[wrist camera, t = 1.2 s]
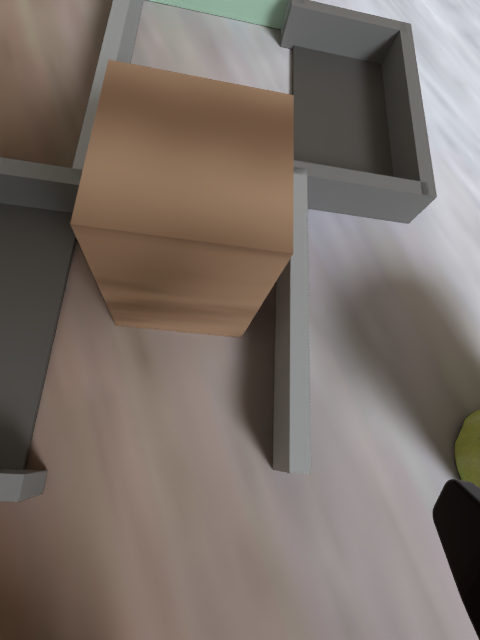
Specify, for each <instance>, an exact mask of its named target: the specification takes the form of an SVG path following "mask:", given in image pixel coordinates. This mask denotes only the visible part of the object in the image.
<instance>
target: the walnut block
mask: <svg viewBox="0 0 480 640" xmlns="http://www.w3.org/2000/svg"><path fill="white" fill-rule="evenodd" d="M293 180H294V95H289V94H284V93H279V92H274V91H269V90H264V89H259V88H253V87H248V86H243V85H238V84H233V83H228V82H222V81H217V80H212V79H207V78H202V77H197V76H191V75H186V74H181V73H176V72H171V71H166V70H160V69H155V68H150V67H145V66H140V65H135V64H130V63H124V62H119V61H114V60H109V59H108V63H107V68H106V72H105V76H104V81H103V85H102V89H101V94H100V98H99V102H98V106H97V111H96V115H95V119H94V124H93V128H92V132H91V137H90V141H89V145H88V149H87V154H86V158H85V162H84V167H83V171H82V175H81V180H80V184H79V188H78V193H77V197H76V201H75V205H74V210H73V214H72V218H71V223H70V225H71V227H72V229H73V231H74V234H75V236H76V238H77V240H78V243H79V245H80V247H81V249H82V251H83V254H84V256H85V258H86V260H87V262H88V265H89V267H90V269H91V271H92V273H93V276H94V278H95V280H96V282H97V285H98V287H99V289H100V291H101V293H102V296H103V298H104V300H105V302H106V304H107V307H108V309H109V311H110V313H111V315H112V318H113V320H114V322H115V324H116V326H126V327H137V328H147V329H157V330H168V331H178V332H188V333H199V334H209V335H219V336H230V337H240V338H241V337H242V336H243V334H244V332H245V331H246V329H247V328H248V326H249V324H250V323H251V321H252V319H253V318H254V316H255V315H256V313H257V311H258V310H259V308H260V307H261V305H262V303H263V302H264V300H265V298H266V297H267V295H268V294H269V292H270V290H271V289H272V287H273V286H274V284H275V282H276V281H277V279H278V277H279V276H280V274H281V273H282V271H283V269H284V268H285V266H286V265H287V263H288V261H289V260H290V258H291V256H292V255H293Z"/></svg>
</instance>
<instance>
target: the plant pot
mask: <svg viewBox="0 0 480 640" xmlns="http://www.w3.org/2000/svg"><path fill="white" fill-rule="evenodd" d="M455 460H456V465H457V469H458V472H459V475H460V477H461V479H462V480H463V481H469V482H471V483H473V484H475V485H476V486H478V487H479V488H480V410H477V411H475V412H473V413H472V414H470V415H469V416H468V417H467V418H466V419H465V420H464V424H463V427H462V429H461V431H460V434H459V436H458V438H457V440H456V442H455Z"/></svg>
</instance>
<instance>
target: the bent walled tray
mask: <svg viewBox="0 0 480 640" xmlns="http://www.w3.org/2000/svg"><path fill="white" fill-rule="evenodd" d="M149 1H154V2H158V3H163V4H167V5H172V6H177V7H181V8H186V9H190V10H195V11H199V12H204V13H209V14H213V15H218V16H222V17H227V18H231V19H236V20H240V21H245V22H250V23H254V24H259V25H263V26H268V27H272V28H277V29H281V47H285V48H290V49H293V95H294V180H293V255H292V256H291V258H290V260H289V261H288V263H287V265H286V266H285V268H284V269H283V271H282V273H281V274H280V276H279V277H278V279H277V281H276V322H275V376H274V429H273V470H277V471H282V472H287V473H302V474H311V439H310V360H309V282H308V209H315V210H321V211H328V212H335V213H341V214H348V215H355V216H361V217H368V218H375V219H381V220H388V221H395V222H401V223H408V224H409V223H410V222H411V221H412V220H413V219H414V218H415V217H416V216H417V215H418V214H419V213H420V212H421V211H423V210H424V209H425V208H426V207H427V206H428V205H429V204H430V203H431V202H432V201H433V200H434V199H435V198H436V197H437V195H436V189H435V182H434V175H433V169H432V162H431V155H430V149H429V142H428V135H427V129H426V122H425V115H424V109H423V102H422V95H421V89H420V82H419V75H418V69H417V62H416V55H415V49H414V42H413V35H412V29H411V24H409V23H405V22H400V21H396V20H392V19H387V18H383V17H379V16H375V15H370V14H366V13H362V12H357V11H353V10H349V9H345V8H340V7H336V6H332V5H327V4H323V3H319V2H315V1H310V0H149ZM142 4H143V0H113V3H112V7H111V11H110V15H109V19H108V23H107V27H106V31H105V36H104V40H103V44H102V48H101V52H100V56H99V60H98V64H97V68H96V72H95V76H94V81H93V85H92V89H91V93H90V97H89V101H88V105H87V109H86V113H85V117H84V121H83V125H82V130H81V134H80V138H79V142H78V146H77V150H76V154H75V158H74V162H73V166H72V168H68V167H62V166H55V165H49V164H42V163H35V162H29V161H22V160H16V159H9V158H3V157H0V501H5V502H19V501H22V500H25V499H28V498H31V497H34V496H37V495H40V494H43V490H44V485H45V480H46V475H47V470H25V467H26V463H27V458H28V454H29V449H30V445H31V440H32V436H33V431H34V427H35V422H36V418H37V413H38V409H39V404H40V400H41V395H42V391H43V386H44V382H45V377H46V373H47V368H48V364H49V359H50V355H51V350H52V346H53V341H54V337H55V332H56V328H57V323H58V319H59V314H60V310H61V305H62V301H63V296H64V292H65V287H66V283H67V278H68V274H69V269H70V265H71V260H72V256H73V252H74V247H75V243H76V236H75V234H74V231H73V229H72V227H71V225H70V223H71V218H72V214H73V210H74V205H75V201H76V197H77V193H78V188H79V184H80V180H81V175H82V171H83V167H84V162H85V158H86V154H87V149H88V145H89V141H90V137H91V132H92V128H93V124H94V119H95V115H96V111H97V106H98V102H99V98H100V94H101V89H102V85H103V81H104V76H105V72H106V68H107V63H108V59H109V60H114V61H119V62H124V63H131V58H132V53H133V48H134V44H135V39H136V34H137V29H138V24H139V19H140V14H141V9H142Z"/></svg>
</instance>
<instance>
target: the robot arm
mask: <svg viewBox="0 0 480 640" xmlns="http://www.w3.org/2000/svg"><path fill="white" fill-rule="evenodd" d="M433 520H434V524H435V526H436V529H437V532H438V535H439V538H440V540H441V543H442V546H443V549H444V552H445V555H446V557H447V560H448V563H449V566H450V569H451V572H452V574H453V577H454V580H455V583H456V586H457V588H458V591H459V594H460V596H461V599H462V602H463V604H464V606H465V609H466V611H467V613H468V616H469V618H470V620H471V622H472V625H473V627H474V629H475V631H476V634H477V636H478V638H479V640H480V488H479V487H478V486H476V485H475V484H473V483H471V482H469V481H463V480H456V479H451V480H449V481H447V482H446V484H445V485H444V487H443V489H442V491H441V493H440V495H439V497H438V499H437V501H436V503H435V505H434V508H433Z"/></svg>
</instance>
